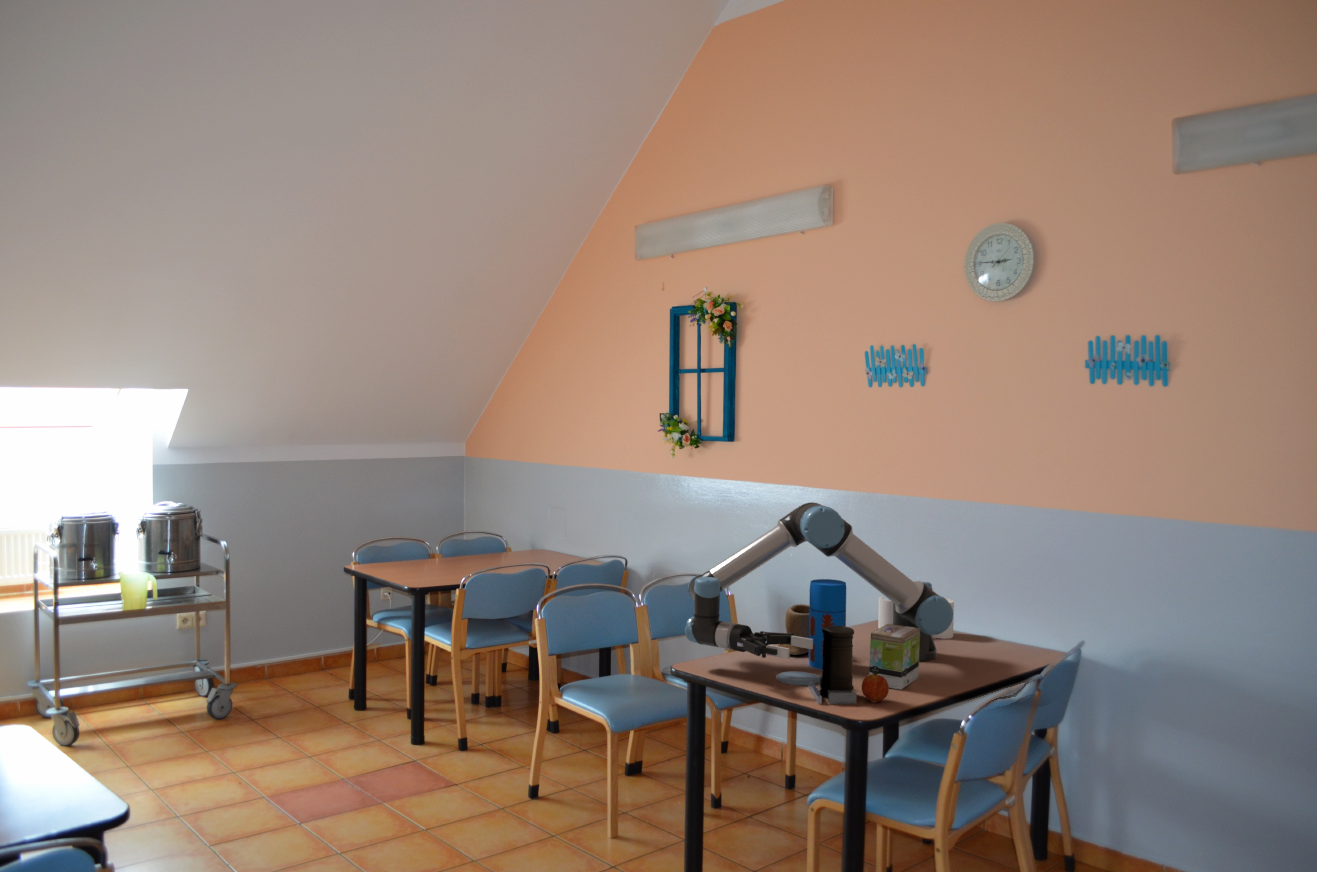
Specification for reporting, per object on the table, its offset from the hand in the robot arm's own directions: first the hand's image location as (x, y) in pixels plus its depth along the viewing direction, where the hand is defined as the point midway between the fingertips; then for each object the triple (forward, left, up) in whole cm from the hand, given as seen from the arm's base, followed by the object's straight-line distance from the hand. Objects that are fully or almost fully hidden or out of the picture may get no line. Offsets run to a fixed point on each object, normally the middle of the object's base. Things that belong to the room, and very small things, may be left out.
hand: (801, 648), depth 260 cm
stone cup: (-7, -39, -11) cm, 41 cm away
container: (-9, +6, -11) cm, 15 cm away
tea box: (-28, -8, -11) cm, 31 cm away
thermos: (-12, -24, -11) cm, 29 cm away
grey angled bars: (-7, +6, -11) cm, 15 cm away
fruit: (-18, +11, -11) cm, 24 cm away
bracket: (-50, -64, -11) cm, 82 cm away
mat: (-1, -9, -11) cm, 14 cm away
